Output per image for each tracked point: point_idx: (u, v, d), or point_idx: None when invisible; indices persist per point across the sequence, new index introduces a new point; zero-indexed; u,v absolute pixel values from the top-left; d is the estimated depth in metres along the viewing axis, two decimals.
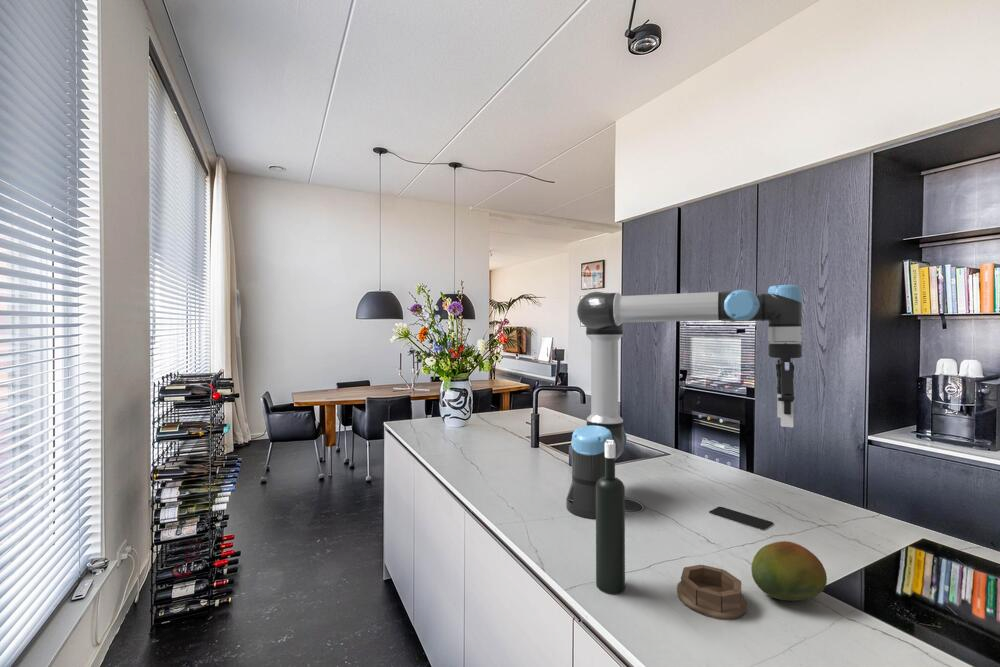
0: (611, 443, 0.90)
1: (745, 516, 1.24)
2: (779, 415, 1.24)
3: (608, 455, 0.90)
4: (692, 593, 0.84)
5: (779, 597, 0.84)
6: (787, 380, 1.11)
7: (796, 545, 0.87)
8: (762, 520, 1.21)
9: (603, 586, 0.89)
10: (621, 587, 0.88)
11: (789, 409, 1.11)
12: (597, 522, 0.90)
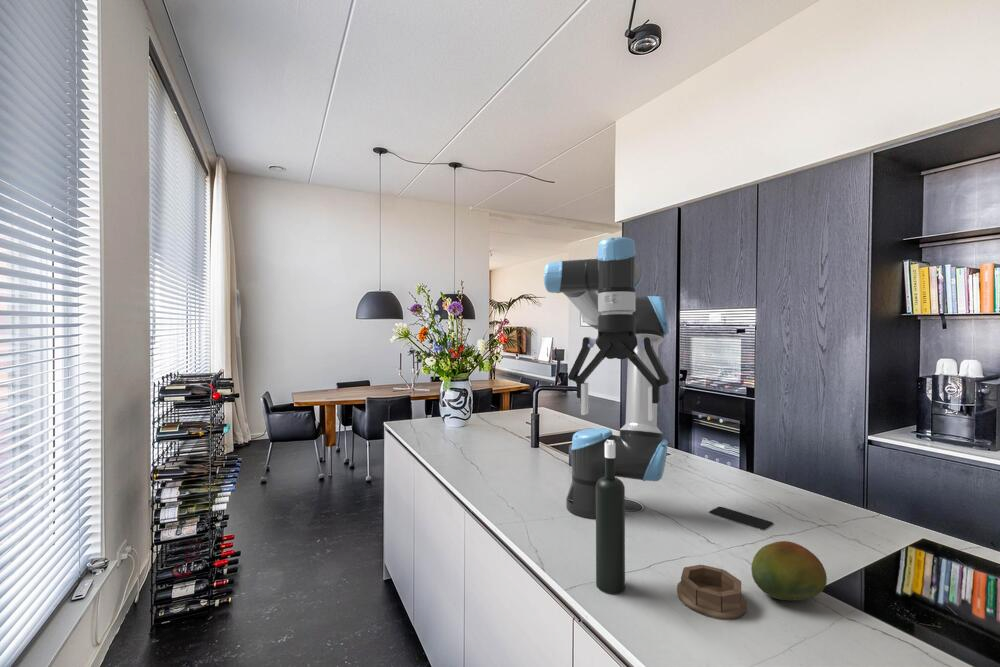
0: (611, 443, 0.90)
1: (745, 516, 1.24)
2: None
3: (608, 455, 0.90)
4: (692, 593, 0.84)
5: (779, 597, 0.84)
6: None
7: (796, 545, 0.87)
8: (762, 520, 1.21)
9: (603, 586, 0.89)
10: (621, 587, 0.88)
11: None
12: (597, 522, 0.90)
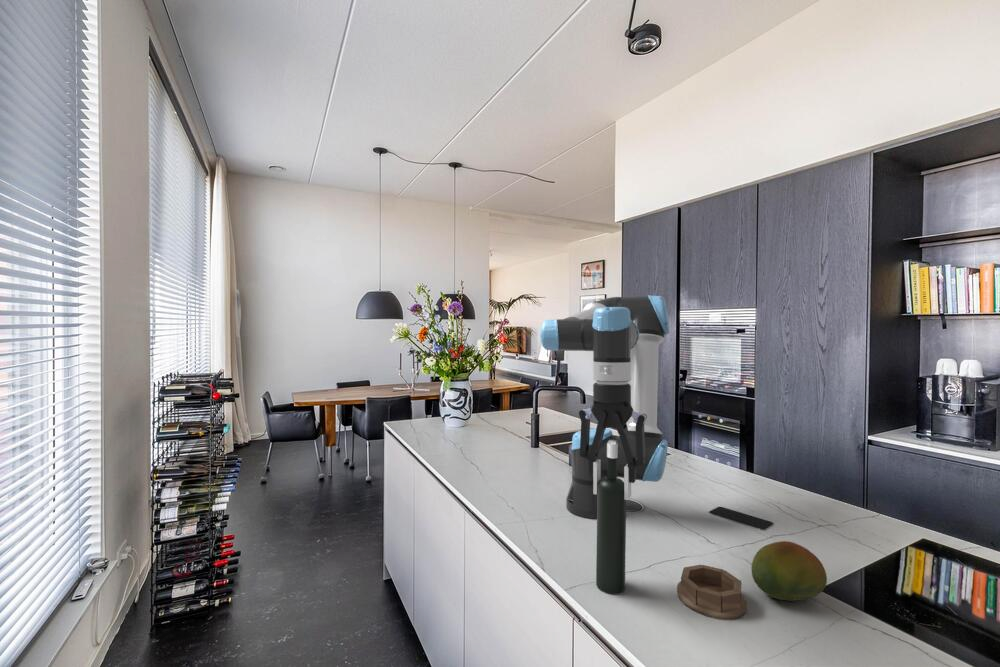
0: (613, 443, 0.90)
1: (745, 516, 1.24)
2: None
3: (610, 455, 0.90)
4: (692, 593, 0.84)
5: (779, 597, 0.84)
6: None
7: (796, 545, 0.87)
8: (762, 520, 1.21)
9: (603, 586, 0.89)
10: (621, 587, 0.88)
11: None
12: (598, 522, 0.90)
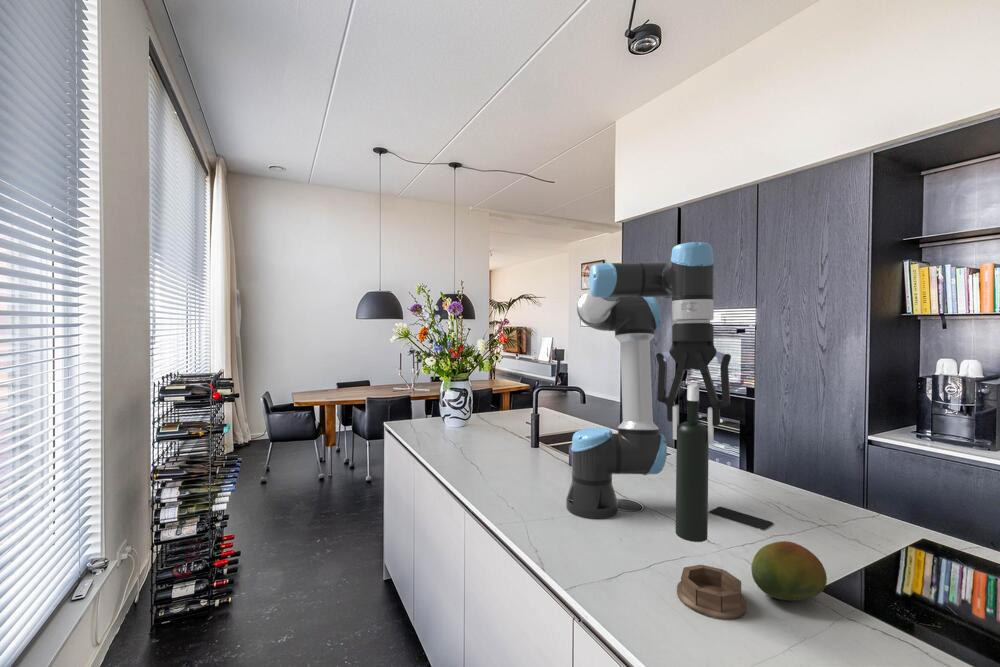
0: (695, 385, 0.86)
1: (745, 516, 1.24)
2: None
3: (691, 397, 0.86)
4: (692, 593, 0.84)
5: (779, 597, 0.84)
6: None
7: (796, 545, 0.87)
8: (762, 520, 1.21)
9: (685, 534, 0.85)
10: (704, 535, 0.84)
11: (667, 414, 0.89)
12: (679, 468, 0.86)
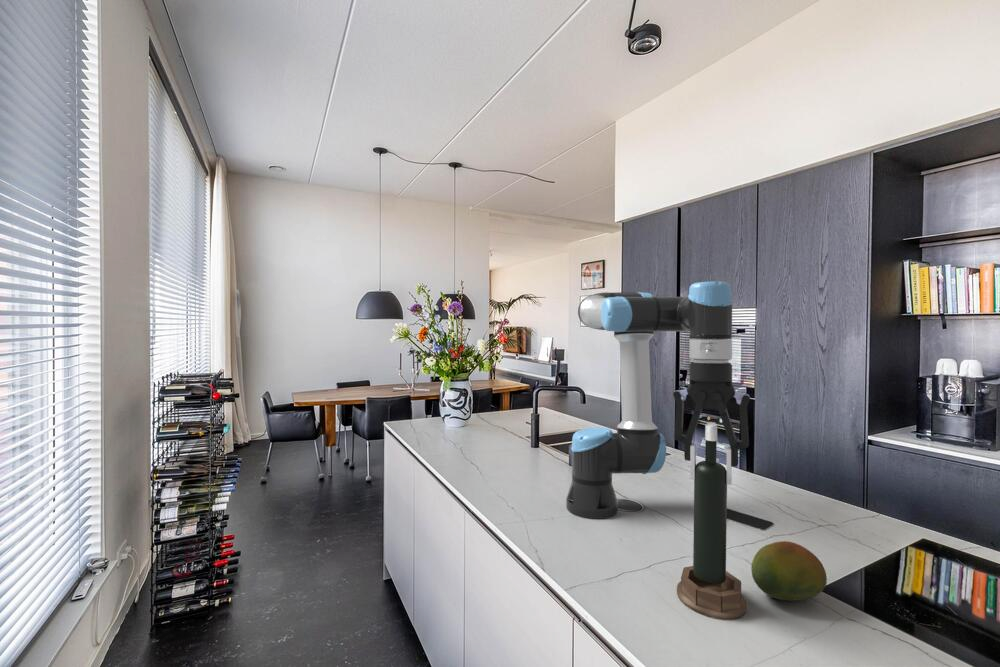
0: (713, 425, 0.85)
1: (745, 516, 1.24)
2: None
3: (710, 437, 0.85)
4: (692, 593, 0.84)
5: (779, 597, 0.84)
6: None
7: (796, 545, 0.87)
8: (762, 520, 1.21)
9: (704, 575, 0.84)
10: (723, 577, 0.84)
11: None
12: (697, 508, 0.85)
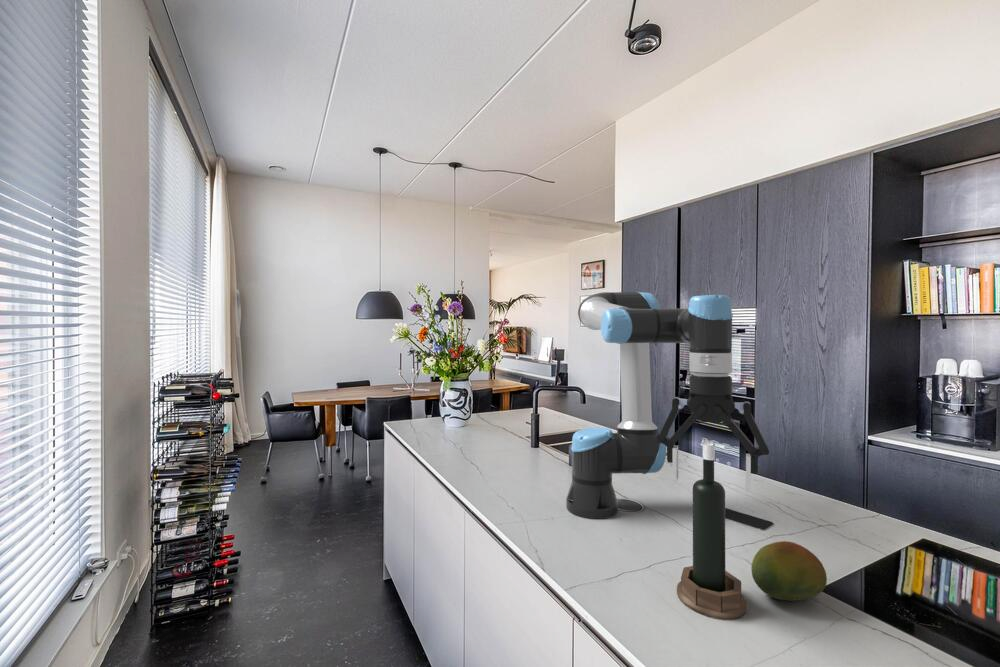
0: (711, 444, 0.85)
1: (745, 516, 1.24)
2: None
3: (707, 456, 0.85)
4: (692, 593, 0.84)
5: (779, 597, 0.84)
6: None
7: (796, 545, 0.87)
8: (762, 520, 1.21)
9: None
10: None
11: (667, 455, 0.90)
12: (696, 527, 0.86)
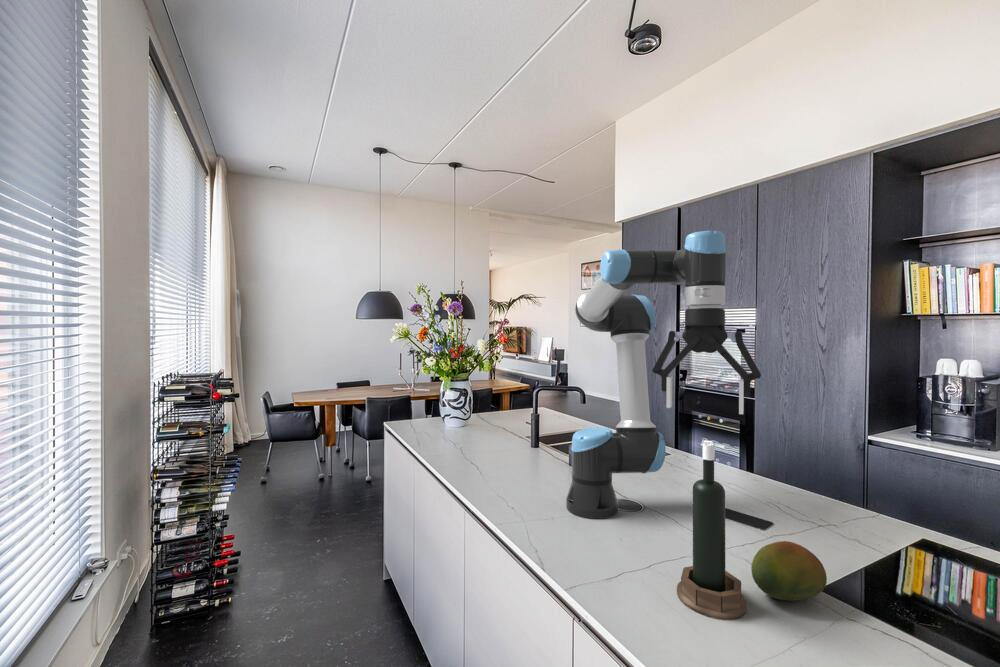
0: (711, 444, 0.85)
1: (745, 516, 1.24)
2: None
3: (707, 456, 0.85)
4: (692, 593, 0.84)
5: (779, 597, 0.84)
6: None
7: (796, 545, 0.87)
8: (762, 520, 1.21)
9: None
10: None
11: None
12: (696, 527, 0.86)
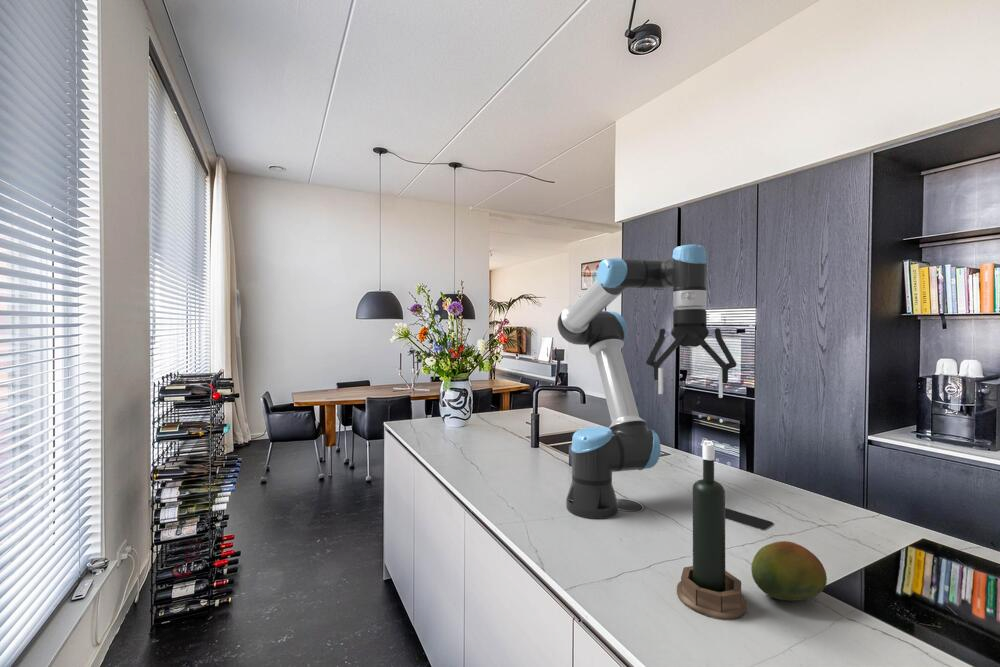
0: (711, 444, 0.85)
1: (745, 516, 1.24)
2: None
3: (707, 456, 0.85)
4: (692, 593, 0.84)
5: (779, 597, 0.84)
6: None
7: (796, 545, 0.87)
8: (762, 520, 1.21)
9: None
10: None
11: (654, 374, 1.12)
12: (696, 527, 0.86)
